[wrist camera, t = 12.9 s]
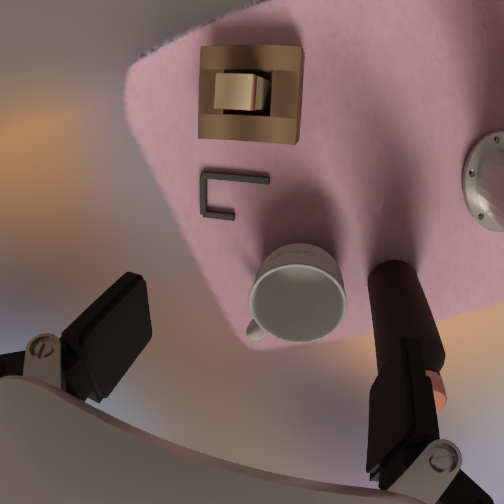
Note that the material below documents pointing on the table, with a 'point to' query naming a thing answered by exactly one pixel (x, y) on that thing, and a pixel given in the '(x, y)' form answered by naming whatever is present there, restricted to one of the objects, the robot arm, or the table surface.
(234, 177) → the dark gray angular bracket
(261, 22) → the table surface
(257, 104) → the red striped block
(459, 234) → the table surface
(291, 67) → the wooden square socket block
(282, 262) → the teacup
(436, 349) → the bottle
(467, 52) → the table surface
